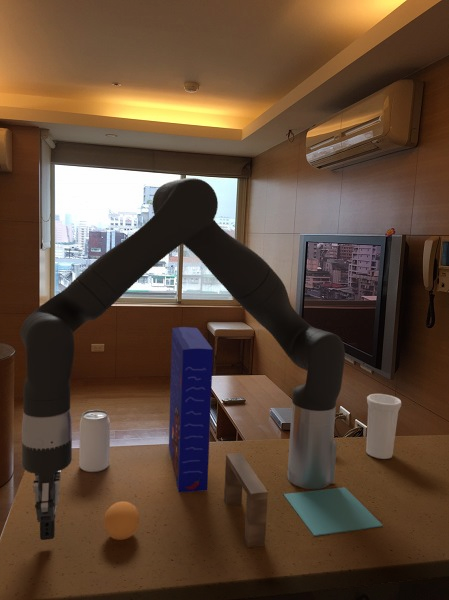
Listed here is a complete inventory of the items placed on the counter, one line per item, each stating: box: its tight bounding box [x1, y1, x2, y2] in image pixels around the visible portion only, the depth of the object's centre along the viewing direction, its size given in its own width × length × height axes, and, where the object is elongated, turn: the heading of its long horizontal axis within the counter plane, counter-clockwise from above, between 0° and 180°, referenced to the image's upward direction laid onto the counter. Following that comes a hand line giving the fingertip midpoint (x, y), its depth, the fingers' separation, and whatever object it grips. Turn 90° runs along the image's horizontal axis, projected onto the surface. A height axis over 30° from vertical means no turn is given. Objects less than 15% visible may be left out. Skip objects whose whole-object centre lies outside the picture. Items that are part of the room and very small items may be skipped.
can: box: [78, 409, 111, 473], centre depth 108 cm, size 6×6×12 cm
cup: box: [365, 393, 402, 460], centre depth 120 cm, size 8×8×14 cm
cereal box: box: [168, 326, 214, 493], centre depth 108 cm, size 22×6×30 cm, turn 12°
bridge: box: [223, 452, 269, 548], centre depth 89 cm, size 3×15×10 cm, turn 16°
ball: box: [103, 501, 140, 541], centre depth 83 cm, size 6×6×6 cm
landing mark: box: [283, 486, 384, 537], centre depth 95 cm, size 14×14×1 cm
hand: (47, 536), depth 80 cm, fingers closed
